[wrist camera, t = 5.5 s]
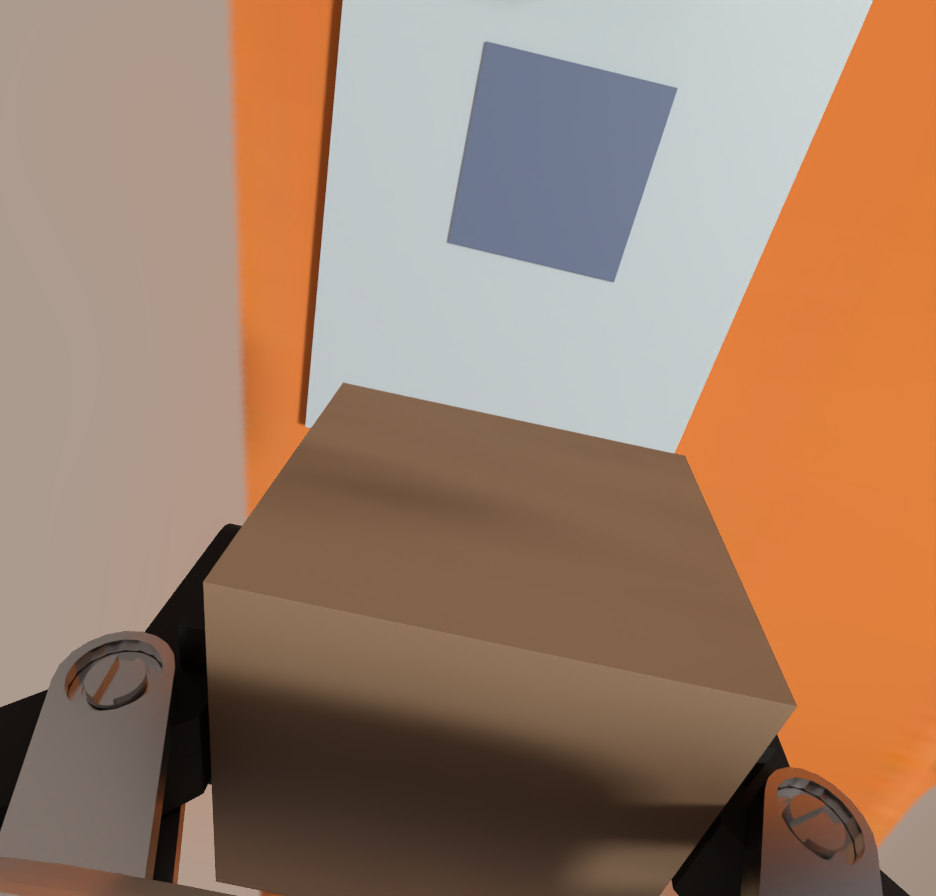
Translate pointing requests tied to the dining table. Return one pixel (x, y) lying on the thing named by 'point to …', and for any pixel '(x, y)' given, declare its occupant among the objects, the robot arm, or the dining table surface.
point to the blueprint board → (559, 198)
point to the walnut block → (477, 663)
